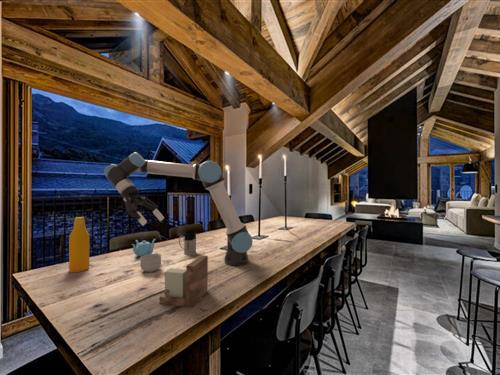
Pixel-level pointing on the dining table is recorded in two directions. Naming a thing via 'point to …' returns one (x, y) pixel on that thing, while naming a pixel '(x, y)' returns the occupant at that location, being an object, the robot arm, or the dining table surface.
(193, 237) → the glass holder
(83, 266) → the beer bottle
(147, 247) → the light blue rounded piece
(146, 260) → the teacup
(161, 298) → the wooden stand
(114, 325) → the dining table surface
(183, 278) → the block
